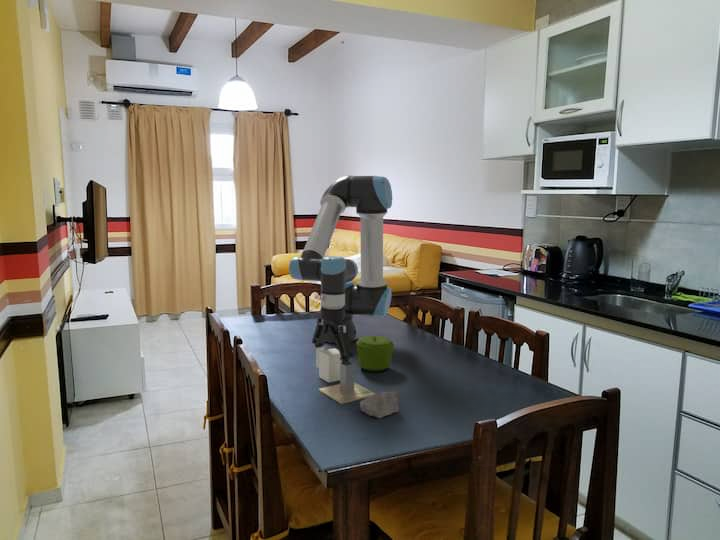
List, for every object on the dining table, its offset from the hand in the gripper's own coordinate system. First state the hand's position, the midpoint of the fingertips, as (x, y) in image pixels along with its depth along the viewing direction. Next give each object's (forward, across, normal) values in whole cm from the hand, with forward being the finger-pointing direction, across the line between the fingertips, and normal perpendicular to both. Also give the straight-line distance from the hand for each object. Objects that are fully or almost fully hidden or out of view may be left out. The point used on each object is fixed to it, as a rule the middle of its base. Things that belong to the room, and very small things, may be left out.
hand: (331, 372), depth 168 cm
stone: (+2, +29, -4) cm, 30 cm away
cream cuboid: (+2, 0, 0) cm, 2 cm away
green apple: (+2, 0, +17) cm, 17 cm away
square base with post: (+2, +13, -3) cm, 13 cm away
